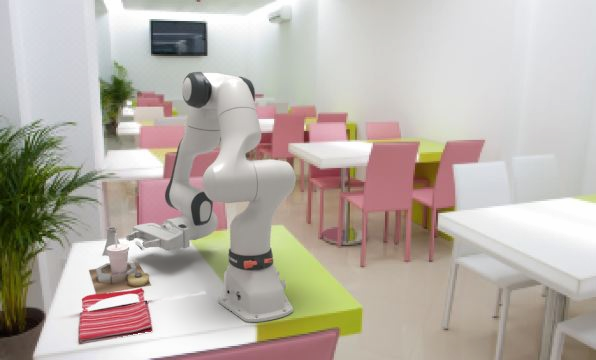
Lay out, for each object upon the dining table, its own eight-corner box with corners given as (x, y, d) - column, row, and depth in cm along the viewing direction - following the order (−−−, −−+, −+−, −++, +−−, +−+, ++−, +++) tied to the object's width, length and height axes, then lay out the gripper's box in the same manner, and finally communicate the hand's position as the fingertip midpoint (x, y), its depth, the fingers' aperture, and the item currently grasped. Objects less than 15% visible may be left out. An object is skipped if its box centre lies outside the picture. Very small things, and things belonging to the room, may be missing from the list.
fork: (138, 239, 193) (138, 234, 192) (154, 259, 172) (154, 254, 172) (130, 240, 191) (129, 235, 191) (144, 261, 170) (144, 256, 170)
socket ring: (138, 279, 151) (138, 272, 151) (99, 286, 146) (99, 278, 146) (132, 267, 161) (132, 259, 160) (95, 273, 156) (94, 265, 155)
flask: (117, 260, 170) (115, 232, 167) (97, 258, 171) (95, 230, 169) (128, 253, 176) (126, 225, 174) (109, 251, 178) (107, 224, 176)
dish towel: (145, 295, 145) (145, 286, 145) (154, 334, 124) (153, 324, 123) (80, 303, 139) (80, 294, 138) (78, 346, 117) (77, 335, 117)
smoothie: (103, 280, 151) (100, 234, 148) (118, 272, 156) (116, 228, 153) (120, 283, 148) (118, 237, 145) (135, 275, 154) (133, 231, 151)
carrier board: (151, 289, 148) (151, 276, 147) (96, 298, 141) (95, 285, 140) (138, 266, 165) (138, 254, 164) (89, 273, 158) (88, 261, 157)
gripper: (155, 216, 172) (117, 224, 162) (191, 229, 159) (153, 239, 149) (156, 234, 174) (118, 243, 164) (192, 248, 160) (153, 259, 150)
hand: (135, 241), depth 156 cm, fingers open, 8 cm apart
